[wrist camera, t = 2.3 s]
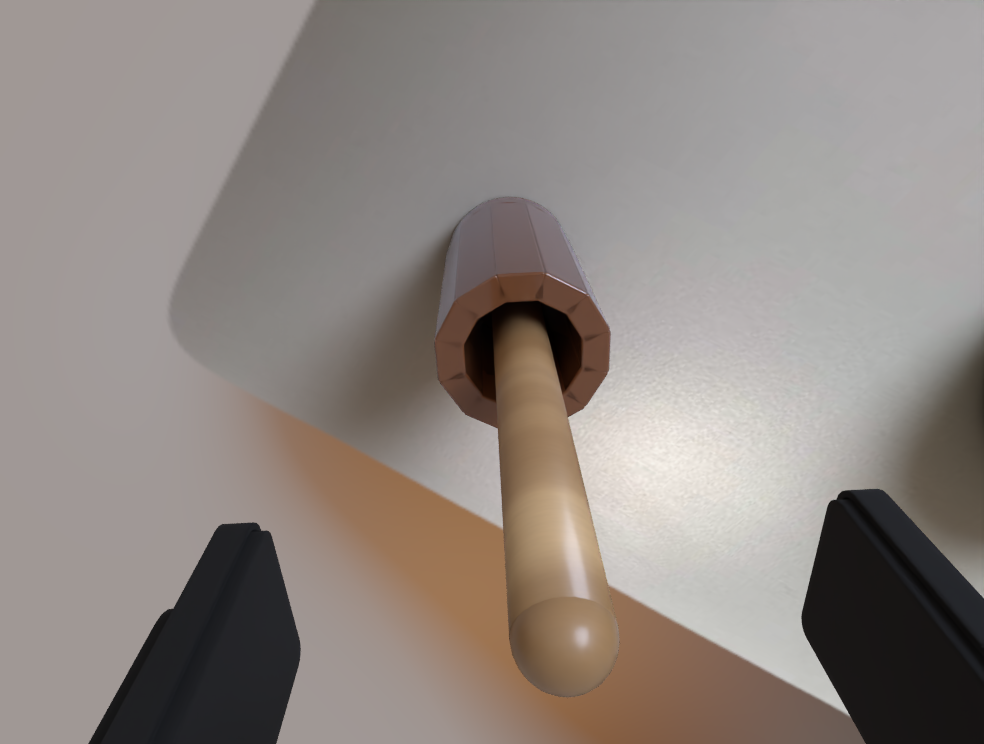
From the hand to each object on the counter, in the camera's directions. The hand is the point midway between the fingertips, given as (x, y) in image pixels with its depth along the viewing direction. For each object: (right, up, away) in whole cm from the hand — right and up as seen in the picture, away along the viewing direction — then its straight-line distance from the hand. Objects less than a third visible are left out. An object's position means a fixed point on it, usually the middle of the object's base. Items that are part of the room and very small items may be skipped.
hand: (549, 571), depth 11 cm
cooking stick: (0, +8, +14) cm, 16 cm away
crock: (0, +8, +15) cm, 17 cm away
